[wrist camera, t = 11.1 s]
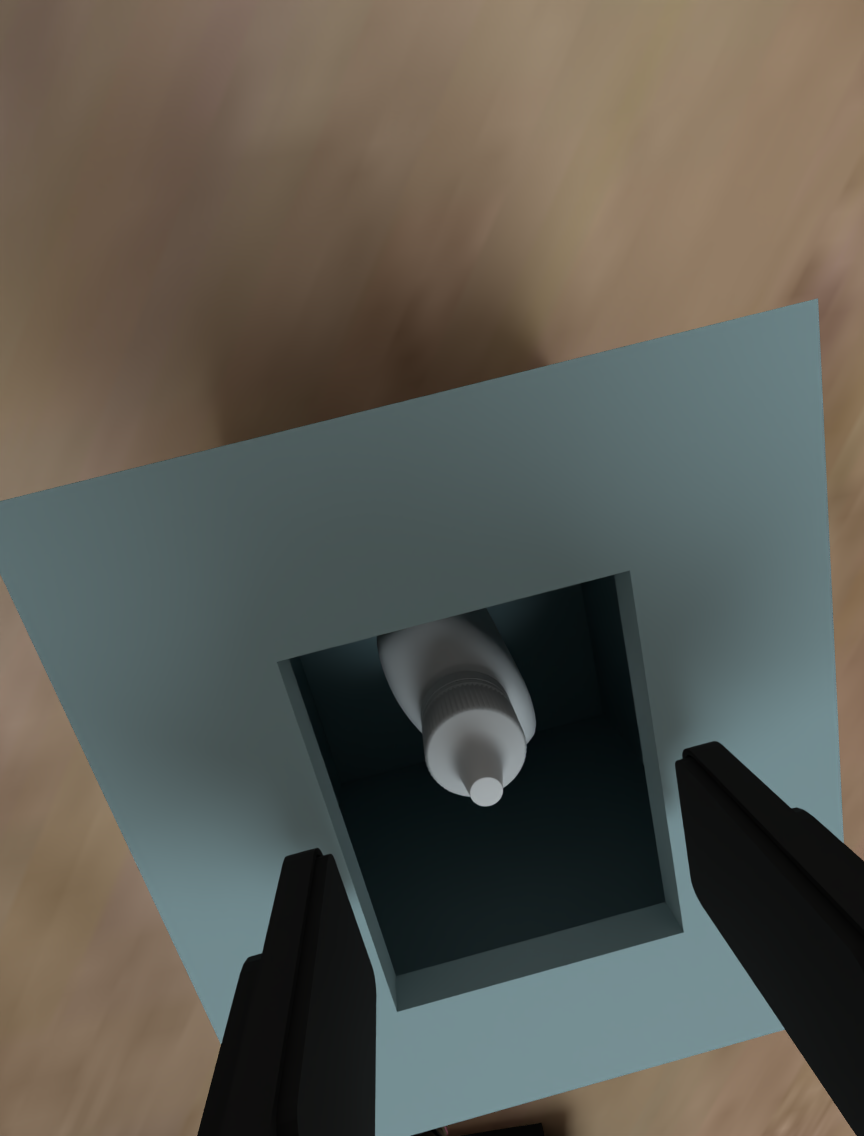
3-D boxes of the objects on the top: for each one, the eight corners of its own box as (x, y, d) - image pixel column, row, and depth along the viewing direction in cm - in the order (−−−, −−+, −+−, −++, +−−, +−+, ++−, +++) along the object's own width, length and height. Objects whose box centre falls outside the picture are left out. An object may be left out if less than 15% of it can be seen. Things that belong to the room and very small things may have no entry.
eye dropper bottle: (399, 678, 24) (406, 918, 12) (375, 554, 22) (356, 690, 11) (498, 660, 24) (600, 881, 12) (480, 535, 22) (576, 649, 11)
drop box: (223, 461, 22) (-31, 508, 9) (555, 378, 22) (818, 298, 9) (333, 789, 26) (281, 1173, 13) (612, 715, 27) (851, 1010, 13)
